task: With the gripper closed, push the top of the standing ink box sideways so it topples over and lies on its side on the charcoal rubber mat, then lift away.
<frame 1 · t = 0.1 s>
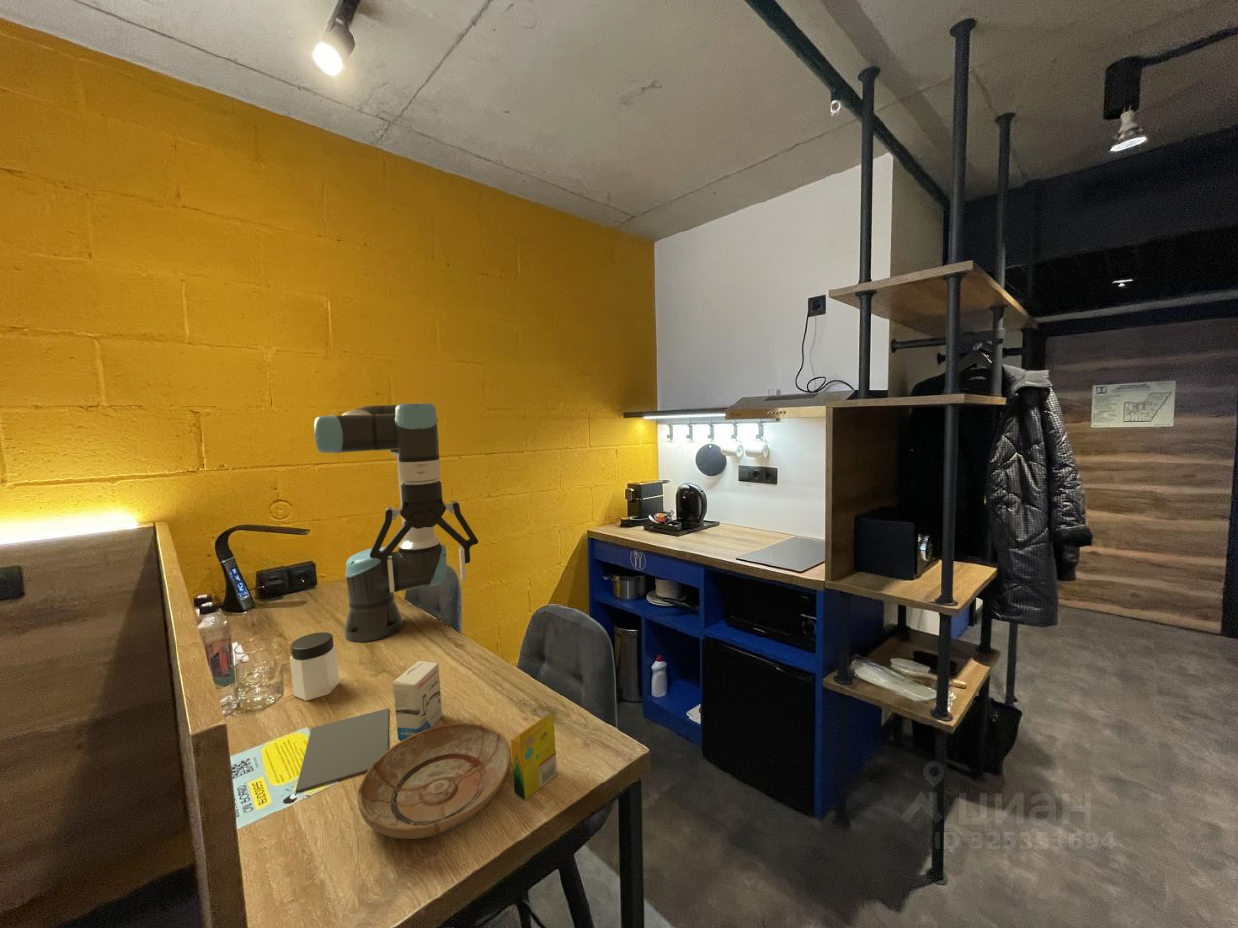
hand: (428, 584, 100), 28 cm above the table, fingers open, 13 cm apart
crayon box: (536, 784, 83), on the table
ceramic bowl: (440, 795, 81), on the table
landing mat: (347, 746, 93), on the table
jar: (317, 690, 113), on the table
ink box: (420, 727, 99), on the table
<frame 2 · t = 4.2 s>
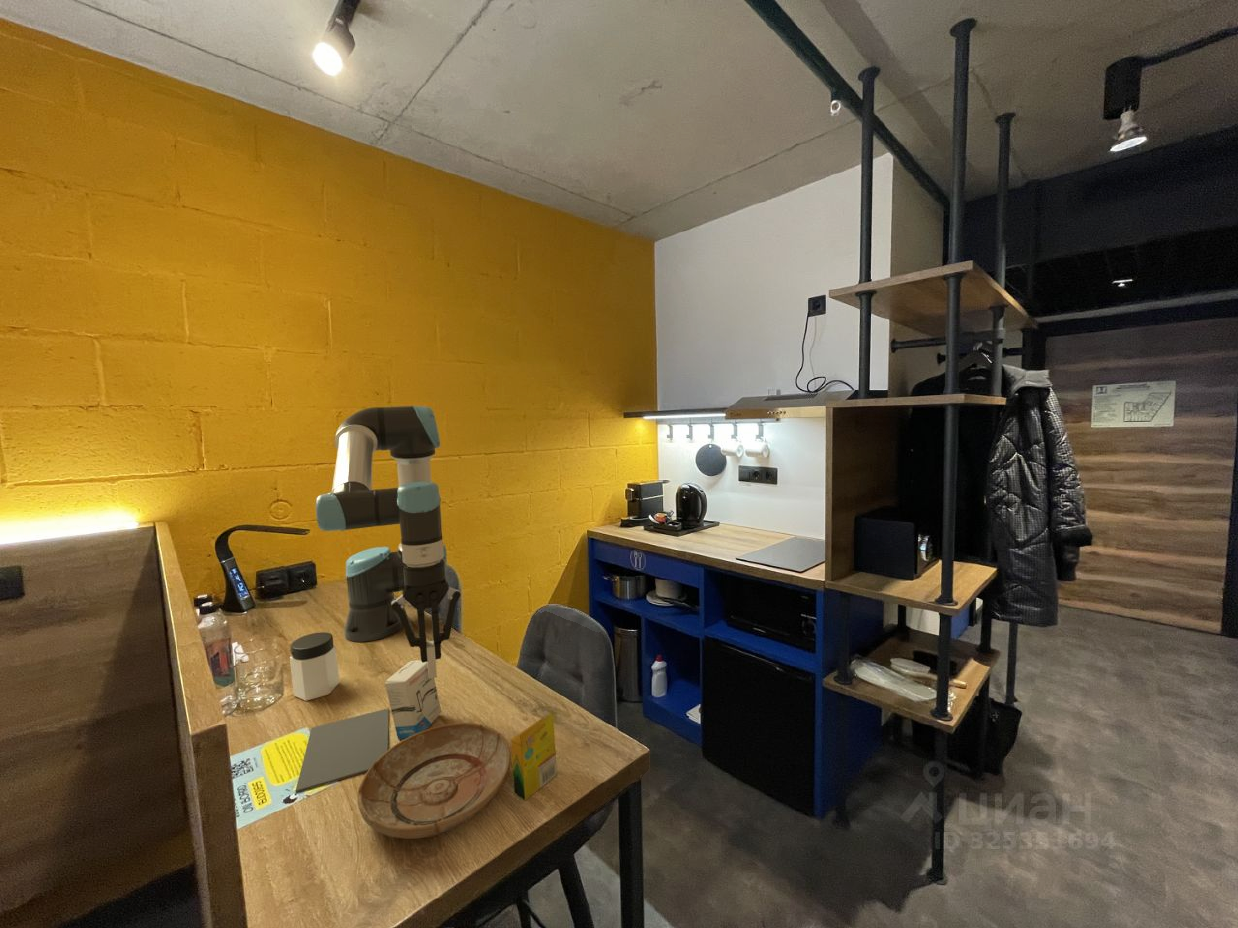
hand: (432, 674, 99), 10 cm above the table, fingers closed
ink box: (420, 725, 99), on the table, touching gripper
everything else where it was.
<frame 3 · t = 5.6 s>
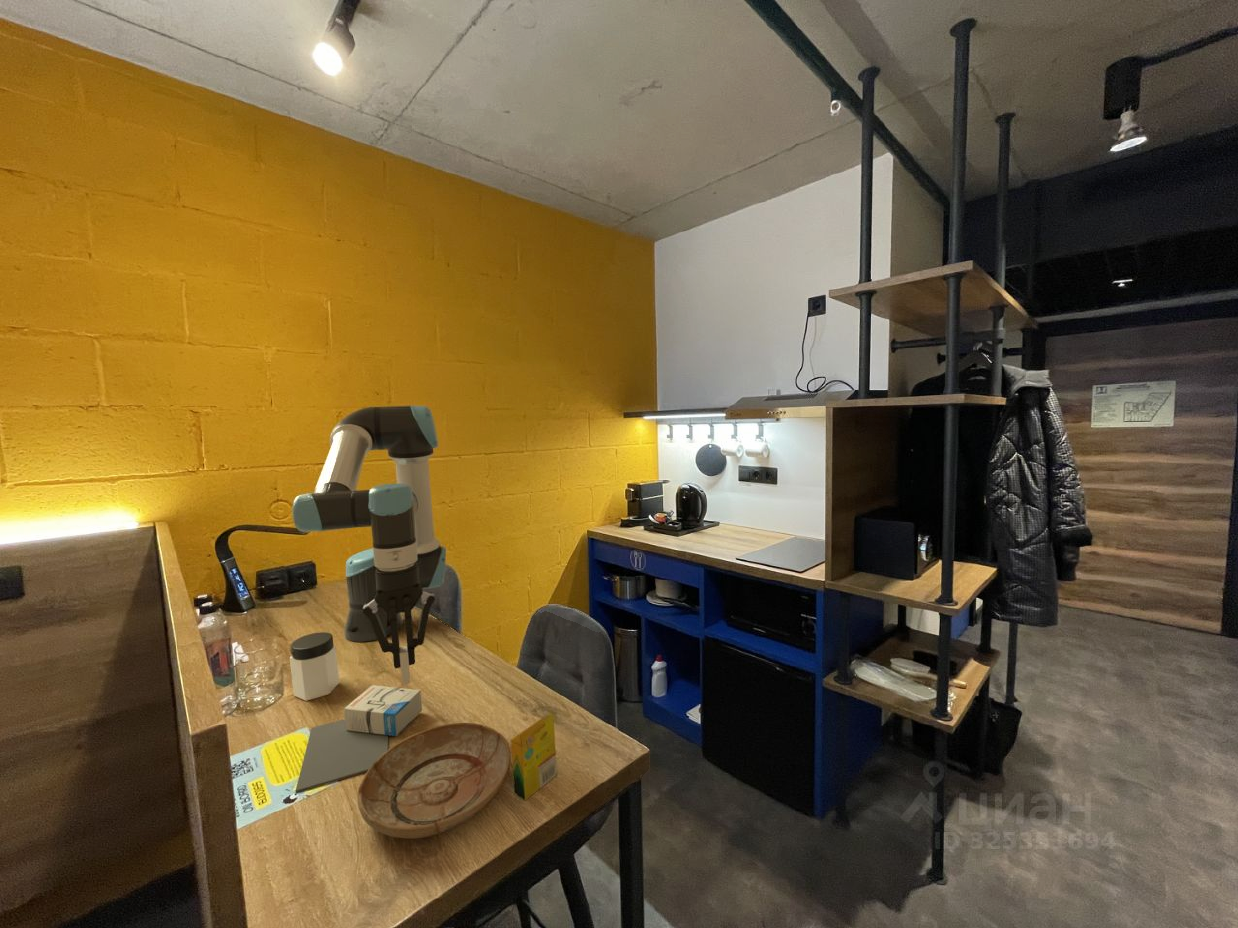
hand: (406, 680, 97), 10 cm above the table, fingers closed
ink box: (410, 712, 99), point 3 cm above the table, touching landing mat
everything else where it was.
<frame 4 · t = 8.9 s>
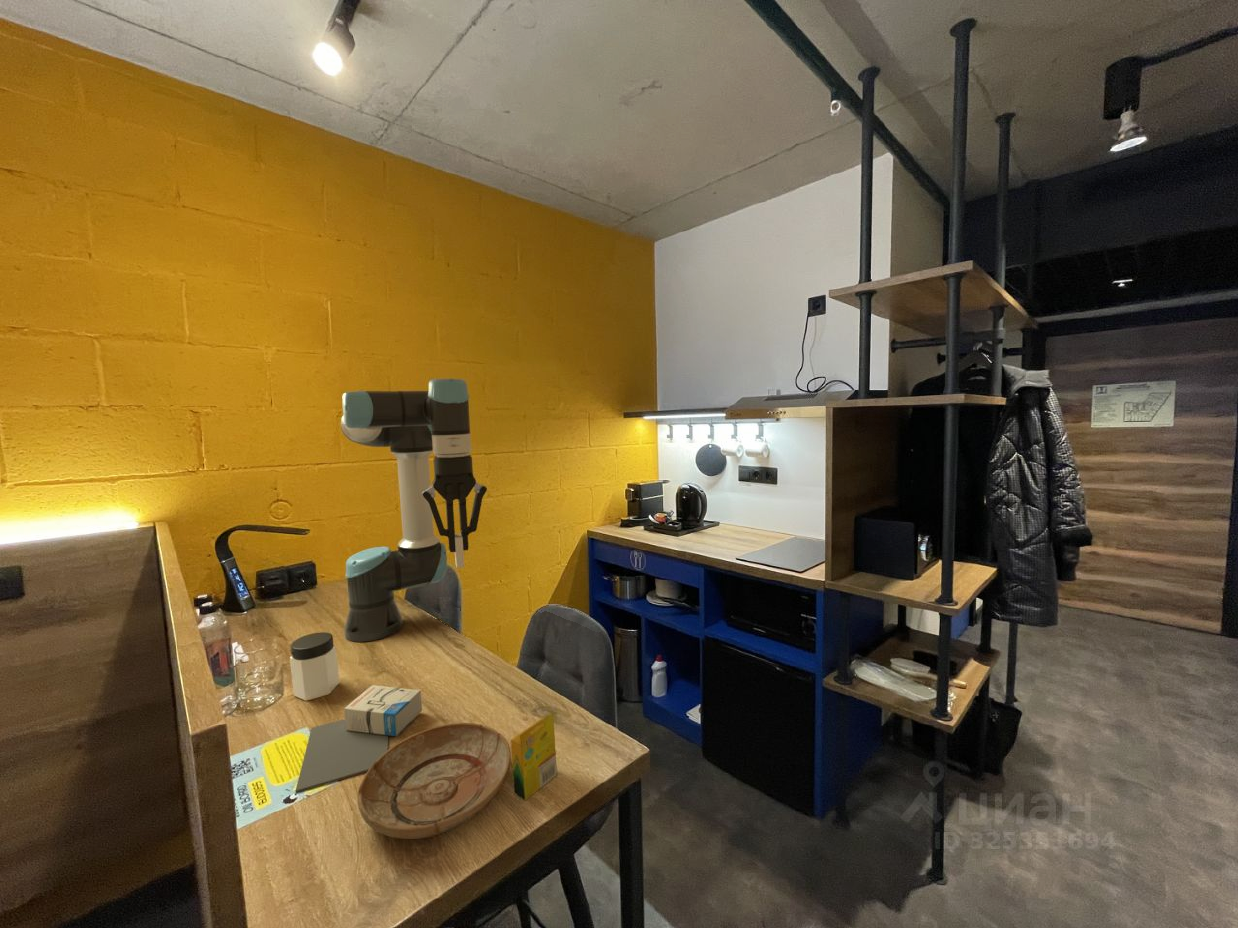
hand: (459, 565, 104), 30 cm above the table, fingers closed
nothing on the table moved.
at the end: ink box tilted 90°; ink box inside the target area (8.6 cm from its centre), point 2.8 cm above the table; the gripper is holding nothing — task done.
